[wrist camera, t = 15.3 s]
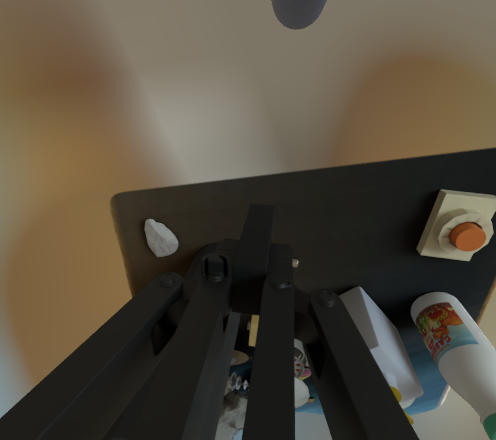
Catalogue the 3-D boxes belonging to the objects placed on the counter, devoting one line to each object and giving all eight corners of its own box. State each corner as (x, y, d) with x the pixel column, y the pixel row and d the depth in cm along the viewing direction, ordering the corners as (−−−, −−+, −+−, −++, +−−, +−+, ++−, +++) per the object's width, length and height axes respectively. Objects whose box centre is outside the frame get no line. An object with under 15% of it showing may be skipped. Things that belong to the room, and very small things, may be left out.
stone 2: (275, 398, 51) (252, 463, 44) (241, 426, 70) (222, 474, 63) (205, 354, 54) (173, 409, 46) (191, 393, 73) (167, 436, 66)
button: (455, 220, 38) (462, 226, 37) (483, 224, 38) (491, 230, 36) (445, 243, 40) (451, 249, 38) (471, 246, 40) (479, 253, 38)
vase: (242, 239, 48) (181, 439, 21) (256, 286, 52) (219, 504, 25) (186, 247, 50) (68, 438, 23) (204, 292, 54) (120, 497, 27)
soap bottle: (397, 326, 51) (469, 494, 31) (364, 341, 54) (410, 505, 33) (359, 283, 48) (411, 437, 28) (326, 300, 51) (351, 453, 30)
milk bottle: (460, 288, 46) (566, 417, 29) (457, 322, 49) (550, 459, 32) (409, 292, 48) (478, 417, 30) (409, 325, 51) (471, 456, 33)
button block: (440, 189, 40) (453, 198, 37) (493, 195, 39) (510, 204, 36) (416, 249, 44) (425, 261, 41) (463, 255, 44) (476, 268, 41)
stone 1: (157, 256, 51) (154, 262, 50) (136, 221, 49) (131, 226, 47) (184, 246, 50) (181, 252, 49) (164, 210, 48) (160, 215, 46)
